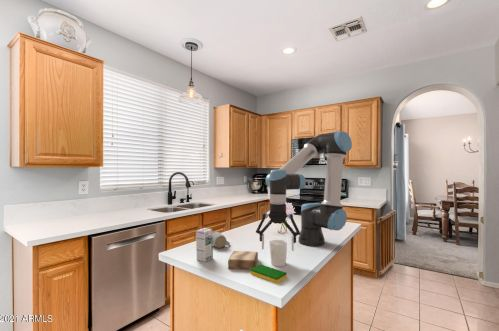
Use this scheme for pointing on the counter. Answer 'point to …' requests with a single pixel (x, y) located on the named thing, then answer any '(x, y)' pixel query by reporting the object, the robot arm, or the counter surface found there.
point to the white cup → (278, 252)
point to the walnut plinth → (243, 260)
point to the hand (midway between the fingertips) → (277, 249)
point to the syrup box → (204, 244)
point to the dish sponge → (269, 273)
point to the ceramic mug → (219, 240)
